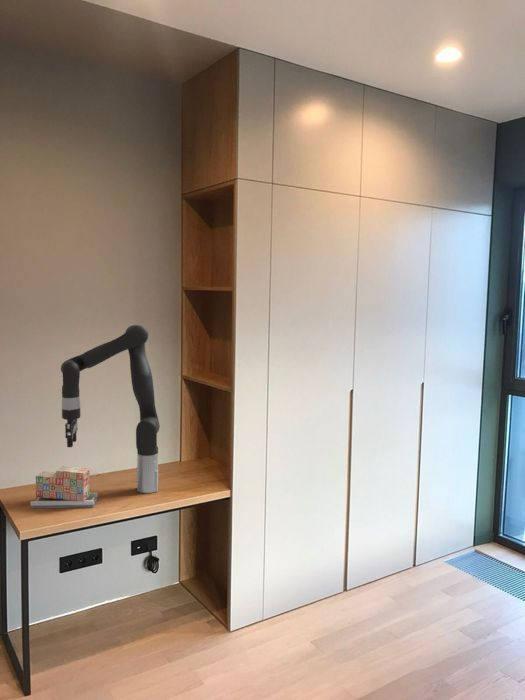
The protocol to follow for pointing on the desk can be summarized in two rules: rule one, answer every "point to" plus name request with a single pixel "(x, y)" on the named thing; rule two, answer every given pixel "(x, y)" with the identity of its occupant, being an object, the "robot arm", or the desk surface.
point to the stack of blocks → (64, 484)
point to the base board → (63, 502)
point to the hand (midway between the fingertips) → (71, 444)
